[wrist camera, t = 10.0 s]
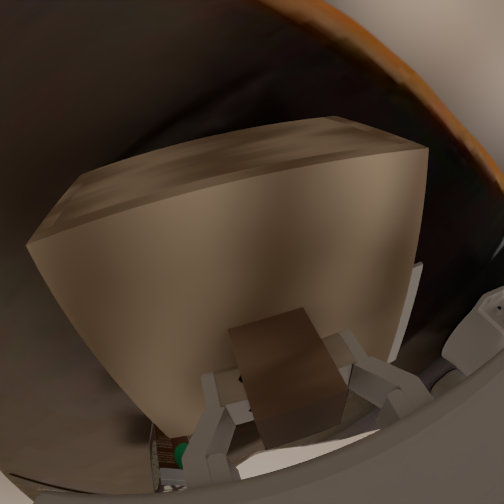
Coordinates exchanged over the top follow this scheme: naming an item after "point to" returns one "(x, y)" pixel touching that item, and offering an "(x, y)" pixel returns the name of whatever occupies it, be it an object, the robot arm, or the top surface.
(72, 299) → the tan block
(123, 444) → the top surface
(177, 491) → the robot arm
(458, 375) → the travel mug
